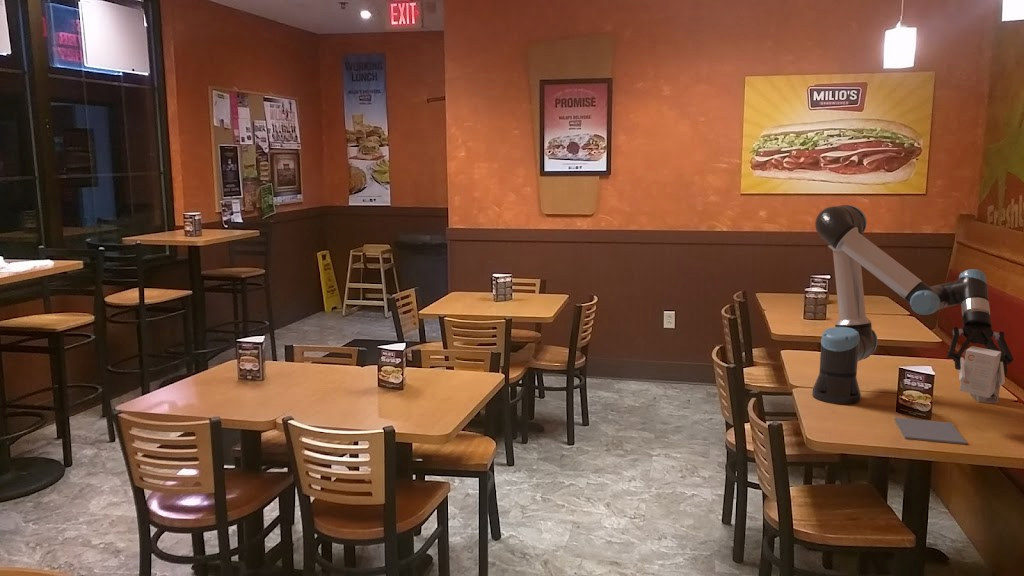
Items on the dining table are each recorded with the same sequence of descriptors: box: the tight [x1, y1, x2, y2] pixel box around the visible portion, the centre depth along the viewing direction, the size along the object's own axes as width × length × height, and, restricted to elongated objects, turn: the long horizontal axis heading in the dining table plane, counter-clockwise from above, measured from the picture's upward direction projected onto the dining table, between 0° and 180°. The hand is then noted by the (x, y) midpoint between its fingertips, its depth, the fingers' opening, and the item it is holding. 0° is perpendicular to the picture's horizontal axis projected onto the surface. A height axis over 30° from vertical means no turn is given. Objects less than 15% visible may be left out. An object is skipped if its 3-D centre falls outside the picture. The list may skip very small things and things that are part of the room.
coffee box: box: [969, 374, 1001, 404], centre depth 266 cm, size 9×6×16 cm
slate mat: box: [893, 417, 968, 445], centre depth 235 cm, size 16×18×1 cm
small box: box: [959, 345, 1002, 398], centre depth 234 cm, size 8×6×13 cm
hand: (982, 381), depth 232 cm, fingers closed on small box, 10 cm apart
